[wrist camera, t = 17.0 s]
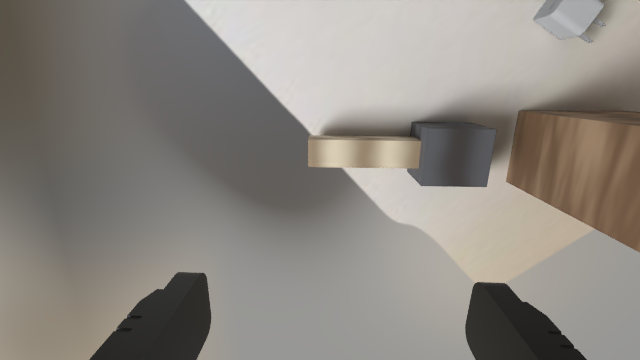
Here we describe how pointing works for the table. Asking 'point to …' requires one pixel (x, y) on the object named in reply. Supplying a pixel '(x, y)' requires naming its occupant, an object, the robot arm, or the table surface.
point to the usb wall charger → (569, 17)
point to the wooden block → (582, 167)
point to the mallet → (415, 153)
